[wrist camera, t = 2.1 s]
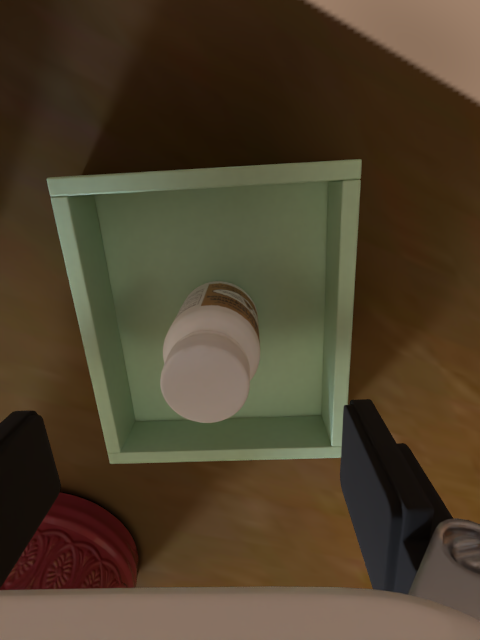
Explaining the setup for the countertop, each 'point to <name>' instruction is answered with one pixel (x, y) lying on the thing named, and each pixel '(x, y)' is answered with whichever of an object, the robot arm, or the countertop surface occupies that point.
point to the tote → (208, 266)
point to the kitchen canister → (76, 550)
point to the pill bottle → (211, 353)
